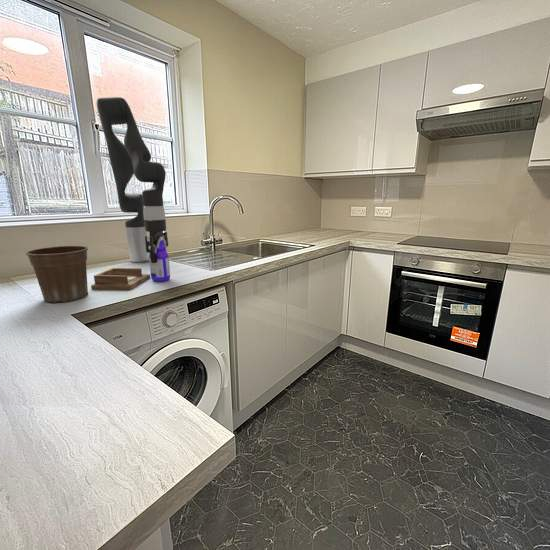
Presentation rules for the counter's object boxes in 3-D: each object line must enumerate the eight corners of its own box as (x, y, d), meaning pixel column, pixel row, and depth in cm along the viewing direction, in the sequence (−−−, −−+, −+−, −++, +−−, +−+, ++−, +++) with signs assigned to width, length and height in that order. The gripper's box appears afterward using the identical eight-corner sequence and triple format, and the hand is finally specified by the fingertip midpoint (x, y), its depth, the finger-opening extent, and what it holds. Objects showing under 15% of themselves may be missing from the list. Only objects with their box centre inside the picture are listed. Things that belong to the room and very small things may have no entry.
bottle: (173, 279, 120) (169, 236, 115) (164, 283, 114) (160, 238, 110) (158, 277, 122) (153, 235, 117) (148, 281, 116) (143, 237, 112)
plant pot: (73, 287, 109) (65, 243, 105) (106, 292, 104) (99, 246, 99) (24, 302, 94) (12, 252, 90) (60, 308, 89) (49, 256, 85)
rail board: (117, 277, 122) (115, 266, 121) (150, 277, 121) (148, 267, 120) (91, 289, 107) (89, 277, 105) (129, 290, 106) (127, 278, 105)
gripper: (153, 216, 119) (157, 256, 123) (135, 220, 105) (140, 264, 109) (171, 216, 118) (175, 256, 123) (156, 220, 104) (160, 264, 109)
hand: (159, 260), depth 116 cm, fingers open, 8 cm apart
